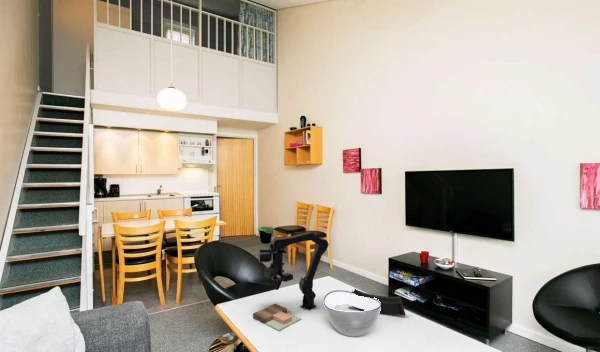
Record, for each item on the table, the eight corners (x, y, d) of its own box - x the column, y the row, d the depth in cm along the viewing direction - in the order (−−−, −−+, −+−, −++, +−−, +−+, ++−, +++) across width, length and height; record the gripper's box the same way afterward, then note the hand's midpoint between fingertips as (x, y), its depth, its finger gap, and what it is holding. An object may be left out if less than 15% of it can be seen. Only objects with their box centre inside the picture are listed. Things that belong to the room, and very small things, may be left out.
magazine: (410, 299, 161) (356, 276, 170) (410, 301, 158) (355, 278, 167) (400, 328, 163) (346, 304, 172) (399, 331, 160) (345, 306, 169)
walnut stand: (275, 308, 168) (275, 303, 168) (287, 313, 162) (287, 308, 162) (252, 318, 156) (253, 313, 156) (264, 324, 150) (264, 319, 150)
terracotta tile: (280, 315, 158) (280, 311, 158) (292, 320, 153) (292, 316, 153) (272, 319, 154) (272, 315, 154) (283, 324, 148) (283, 320, 148)
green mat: (287, 313, 161) (287, 312, 161) (301, 319, 155) (301, 318, 155) (265, 324, 149) (265, 323, 149) (279, 331, 143) (279, 330, 143)
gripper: (255, 260, 166) (254, 289, 166) (279, 268, 153) (278, 299, 153) (270, 256, 174) (269, 283, 174) (294, 263, 162) (293, 292, 162)
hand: (277, 289), depth 166 cm, fingers closed
